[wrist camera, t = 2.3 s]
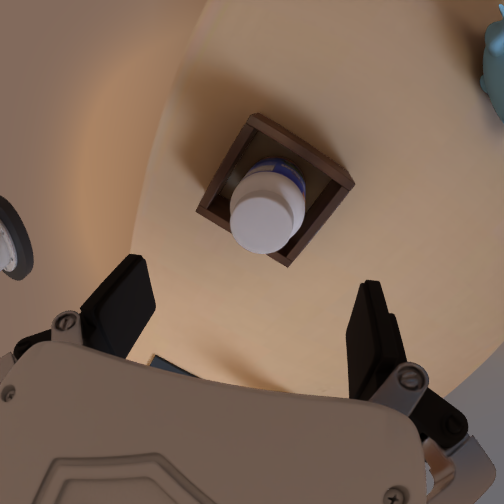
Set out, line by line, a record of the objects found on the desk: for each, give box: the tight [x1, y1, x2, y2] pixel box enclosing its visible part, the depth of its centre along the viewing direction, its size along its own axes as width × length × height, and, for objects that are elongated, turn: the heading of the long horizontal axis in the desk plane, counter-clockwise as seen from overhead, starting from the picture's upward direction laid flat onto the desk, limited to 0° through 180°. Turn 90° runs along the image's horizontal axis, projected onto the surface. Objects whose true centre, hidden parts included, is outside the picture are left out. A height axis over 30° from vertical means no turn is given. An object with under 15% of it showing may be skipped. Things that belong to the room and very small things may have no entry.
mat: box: [150, 355, 198, 378], centre depth 46 cm, size 10×10×1 cm
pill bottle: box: [230, 156, 306, 254], centre depth 22 cm, size 5×5×10 cm
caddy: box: [196, 113, 355, 267], centre depth 24 cm, size 10×10×4 cm
